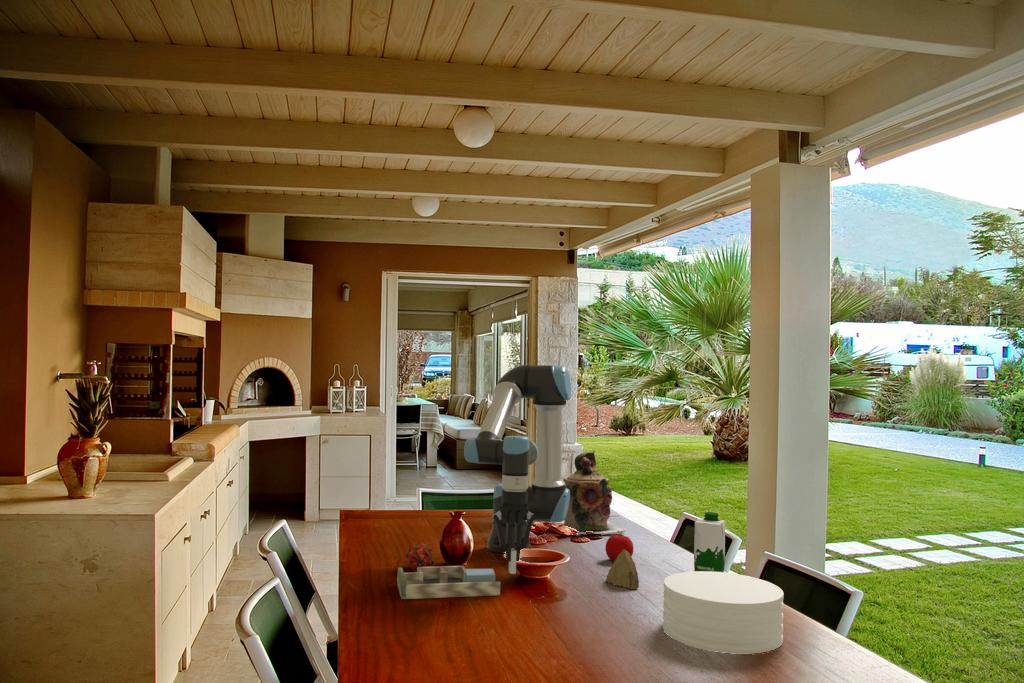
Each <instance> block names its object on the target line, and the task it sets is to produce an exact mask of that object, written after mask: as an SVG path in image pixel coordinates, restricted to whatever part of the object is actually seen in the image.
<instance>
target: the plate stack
mask: <svg viewBox="0 0 1024 683" xmlns="http://www.w3.org/2000/svg"><path fill="white" fill-rule="evenodd" d="M663 588H664V589H663V599H664V600H663V603H662V605H663V606H662V608H663V611H662V619H663V622H662V630H663V629H664V630H663V632H664V631H665V632H664V634H665V633H667V634H668V635H669V636H670V637H672V638H673V639H675V640H677V641H679V642H681V643H684V644H686V645H685V646H687V645H689V646H688V647H690V646H692V647H691V648H693V647H695V648H694V649H696V648H699V649H698V650H700V649H703V650H702V651H705V650H710V651H718V652H726V653H761V652H766V651H770V650H774V649H776V648H778V647H780V646H781V645H782V646H783V644H784V636H783V633H784V624H783V623H784V613H783V612H784V609H785V608H784V605H785V604H784V599H785V598H784V596H785V594H784V591H783V589H781V587H779V586H778V585H776V584H774V583H772V582H770V581H768V580H764V579H760V578H758V577H754V576H748V575H745V574H738V573H734V572H733V573H732V572H725V571H724V572H712V571H694V570H693V571H684V572H683V571H682V572H678V573H674V574H670V575H668V576H666V577H665V579H664V580H663ZM669 636H668V637H669ZM670 637H669V638H670ZM673 639H672V640H673ZM675 640H674V641H675ZM677 641H676V642H677ZM679 642H678V643H679ZM681 643H680V644H681ZM782 643H783V644H782ZM684 644H683V645H684ZM782 646H781V647H782ZM781 647H780V648H781ZM778 649H779V648H778ZM776 650H777V649H776ZM710 651H709V652H710ZM774 651H775V650H774Z"/></svg>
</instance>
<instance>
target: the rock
mask: <svg viewBox="0 0 1024 683" xmlns="http://www.w3.org/2000/svg"><path fill="white" fill-rule="evenodd" d="M632 557H633V556H632ZM632 557H631V555H630V553H629V552H627V551H626V550H624V549H623V550H622V551H621V553H620V554H619V555H618V557H617V558H616V560H615V561H613V563H612V566H611V567H610V569H609V570H608V573H607V575H606V578H605V581H607V582H606V583H609V582H610V583H612V584H611V585H613V584H615V585H614V586H617V585H618V586H617V587H621V586H623V587H622V588H626V587H627V589H630V590H638V589H639V584H640V580H639V576H638V571H637V567H636V563H635V562H634V560H633V558H632ZM605 581H604V582H605ZM610 583H609V584H610ZM637 588H638V589H637Z"/></svg>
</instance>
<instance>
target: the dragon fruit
mask: <svg viewBox="0 0 1024 683" xmlns="http://www.w3.org/2000/svg"><path fill="white" fill-rule="evenodd" d="M432 550H433V549H432V548H431V547H430V546H427V544H425V543H419V542H418V543H414V544H413V546H410V547H408V549H407V551H406V555H405V562H406V566H407V567H408V568H410V569H411V571H412V572H417V567H431V566H434V564H435V560H434V558H433V557H434V554H433V553H432Z"/></svg>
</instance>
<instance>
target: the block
mask: <svg viewBox="0 0 1024 683" xmlns="http://www.w3.org/2000/svg"><path fill="white" fill-rule="evenodd" d="M491 581H496V573H495V571H494V569H493V568H466V569H465V582H491Z"/></svg>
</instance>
